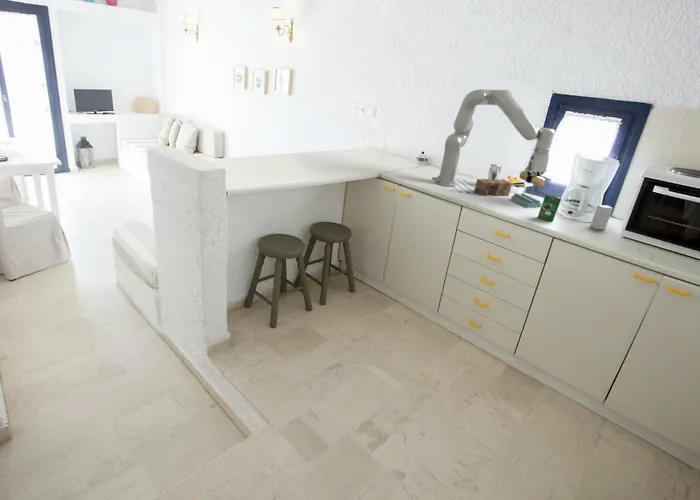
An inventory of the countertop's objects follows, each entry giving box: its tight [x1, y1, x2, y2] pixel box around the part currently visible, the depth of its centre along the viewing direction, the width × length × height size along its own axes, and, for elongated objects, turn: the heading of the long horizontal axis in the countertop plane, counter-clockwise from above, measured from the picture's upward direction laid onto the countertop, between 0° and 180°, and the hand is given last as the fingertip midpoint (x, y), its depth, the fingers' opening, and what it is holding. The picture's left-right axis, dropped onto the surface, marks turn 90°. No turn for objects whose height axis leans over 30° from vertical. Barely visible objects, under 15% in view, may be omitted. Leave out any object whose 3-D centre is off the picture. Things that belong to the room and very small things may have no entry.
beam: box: [473, 178, 513, 197], centre depth 253 cm, size 20×8×8 cm, turn 110°
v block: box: [510, 192, 543, 209], centre depth 242 cm, size 10×14×4 cm
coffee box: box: [537, 193, 562, 222], centre depth 217 cm, size 8×3×13 cm, turn 62°
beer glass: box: [487, 163, 502, 180], centre depth 265 cm, size 7×7×15 cm
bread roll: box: [518, 170, 547, 188], centre depth 237 cm, size 16×5×5 cm, turn 20°
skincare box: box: [589, 204, 614, 230], centre depth 214 cm, size 6×4×12 cm
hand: (531, 182), depth 238 cm, fingers closed on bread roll, 5 cm apart
